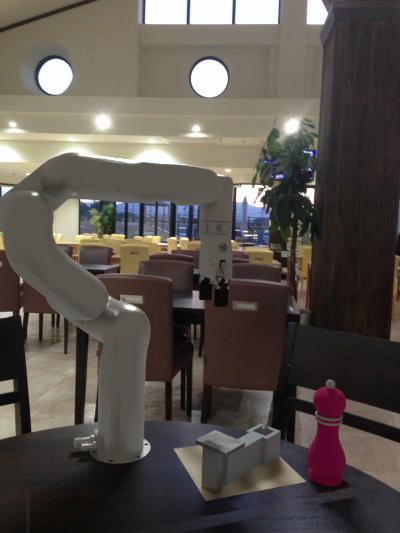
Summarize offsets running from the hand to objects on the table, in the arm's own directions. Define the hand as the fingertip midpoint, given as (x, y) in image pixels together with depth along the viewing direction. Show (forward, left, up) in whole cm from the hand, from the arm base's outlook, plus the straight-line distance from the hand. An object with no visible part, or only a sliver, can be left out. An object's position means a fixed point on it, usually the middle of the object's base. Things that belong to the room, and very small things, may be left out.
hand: (212, 303), depth 104 cm
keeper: (-7, -24, -30) cm, 39 cm away
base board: (-2, -19, -30) cm, 36 cm away
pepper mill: (+13, -28, -31) cm, 43 cm away
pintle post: (+5, -18, -30) cm, 36 cm away
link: (0, -20, -29) cm, 36 cm away
